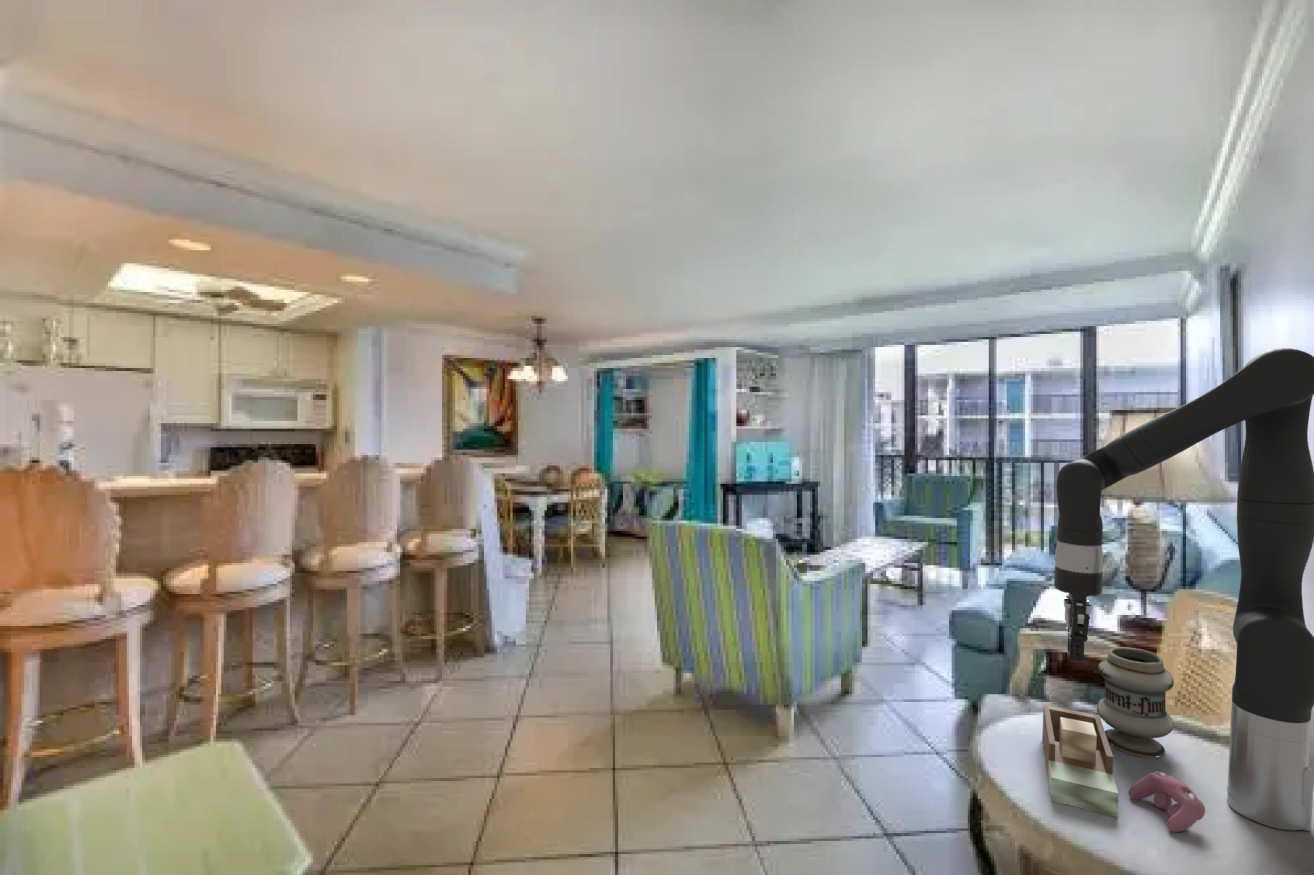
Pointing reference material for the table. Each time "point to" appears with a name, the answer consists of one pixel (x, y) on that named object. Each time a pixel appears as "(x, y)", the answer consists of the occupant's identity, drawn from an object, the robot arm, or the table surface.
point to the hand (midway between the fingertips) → (1075, 656)
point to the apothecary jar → (1135, 701)
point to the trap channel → (1079, 766)
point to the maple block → (1077, 740)
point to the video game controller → (1163, 791)
